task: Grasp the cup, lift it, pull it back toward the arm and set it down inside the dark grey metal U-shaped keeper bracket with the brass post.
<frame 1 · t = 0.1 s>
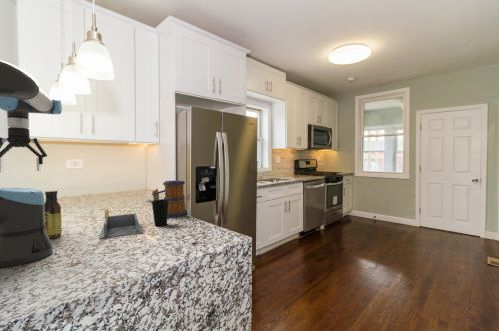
hand: (20, 171, 116), 28 cm above the counter, fingers open, 13 cm apart
keeper: (121, 230, 109), on the counter
mug: (170, 216, 137), on the counter
sauce bottle: (52, 237, 102), on the counter
cup: (160, 225, 117), on the counter
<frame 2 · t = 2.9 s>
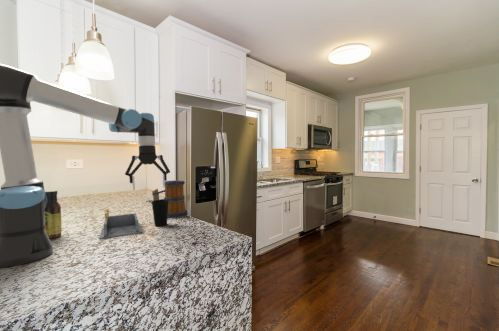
hand: (149, 188, 117), 18 cm above the counter, fingers open, 13 cm apart
nothing on the counter moved.
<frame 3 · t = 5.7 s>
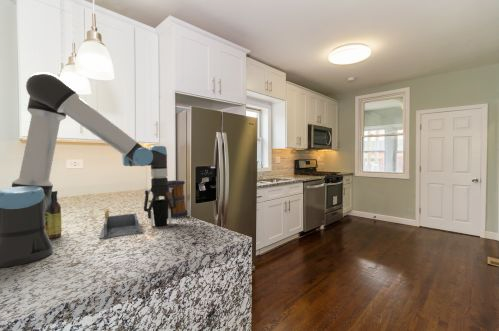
hand: (160, 223, 117), 1 cm above the counter, fingers closed on cup, 8 cm apart
cup: (160, 225, 117), on the counter, touching gripper
everything else where it was.
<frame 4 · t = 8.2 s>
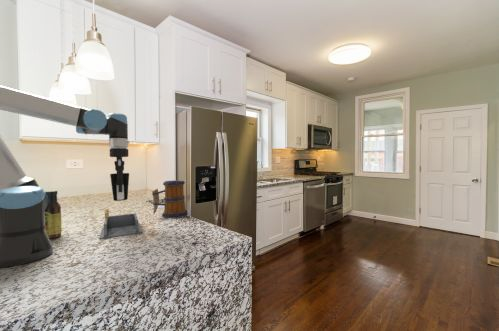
hand: (120, 198, 109), 15 cm above the counter, fingers closed on cup, 8 cm apart
cup: (120, 200, 109), point 14 cm above the counter, touching gripper
everything else where it was.
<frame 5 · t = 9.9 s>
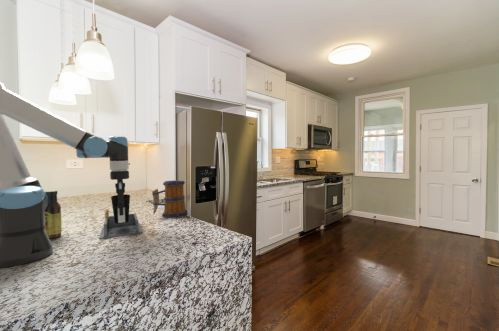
hand: (121, 220, 109), 5 cm above the counter, fingers closed on cup, 8 cm apart
cup: (121, 222, 109), point 4 cm above the counter, touching gripper
everything else where it was.
when the fingers open (3 cm above the counter, at t = 10.7 s): cup drops 2 cm, resting on keeper.
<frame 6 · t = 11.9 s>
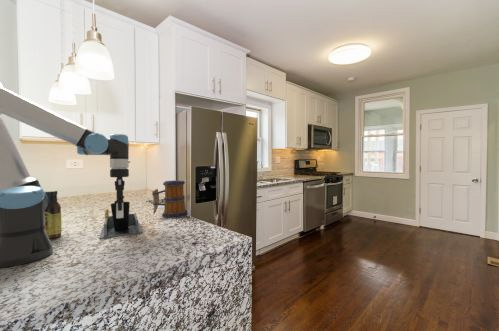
hand: (119, 215, 109), 7 cm above the counter, fingers open, 13 cm apart
cup: (121, 229, 109), resting on keeper
everything else where it was.
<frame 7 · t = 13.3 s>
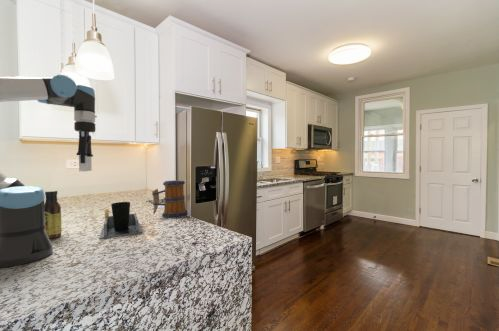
hand: (85, 171, 104), 28 cm above the counter, fingers open, 13 cm apart
nothing on the counter moved.
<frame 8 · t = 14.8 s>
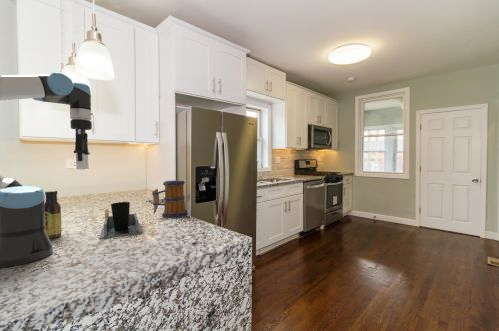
hand: (82, 169, 104), 29 cm above the counter, fingers open, 13 cm apart
nothing on the counter moved.
at the end: cup inside the target area on the keeper (0.8 cm from its centre), point 0.4 cm above the keeper's base; cup tilted 0°; the gripper is holding nothing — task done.
